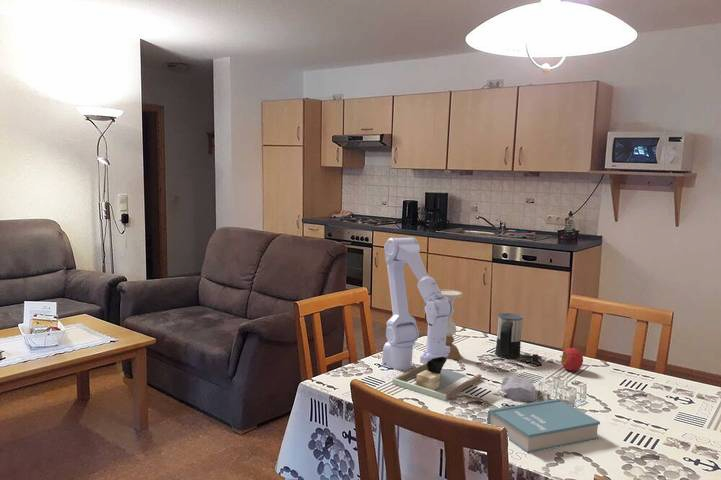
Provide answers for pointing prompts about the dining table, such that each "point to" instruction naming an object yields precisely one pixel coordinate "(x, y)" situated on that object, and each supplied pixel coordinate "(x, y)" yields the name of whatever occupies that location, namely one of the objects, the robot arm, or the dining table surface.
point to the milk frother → (510, 337)
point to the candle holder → (451, 324)
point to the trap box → (445, 380)
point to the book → (544, 424)
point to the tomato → (572, 359)
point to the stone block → (518, 388)
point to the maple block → (428, 380)
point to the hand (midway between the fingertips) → (434, 380)
